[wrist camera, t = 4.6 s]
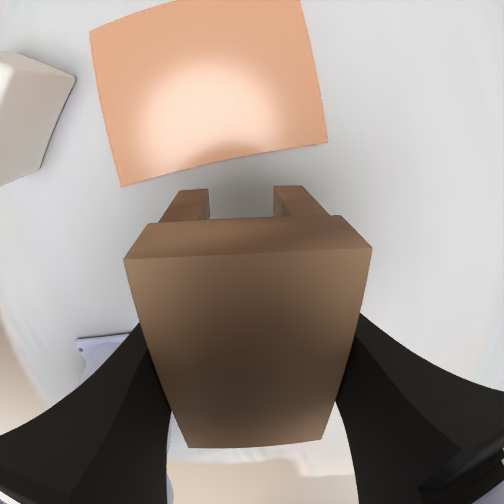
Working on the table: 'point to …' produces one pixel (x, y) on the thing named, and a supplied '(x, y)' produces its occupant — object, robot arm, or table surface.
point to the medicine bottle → (28, 112)
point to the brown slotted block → (249, 316)
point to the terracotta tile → (205, 84)
